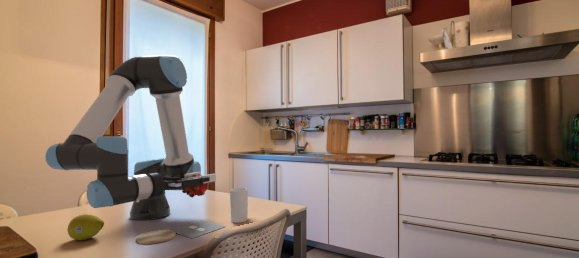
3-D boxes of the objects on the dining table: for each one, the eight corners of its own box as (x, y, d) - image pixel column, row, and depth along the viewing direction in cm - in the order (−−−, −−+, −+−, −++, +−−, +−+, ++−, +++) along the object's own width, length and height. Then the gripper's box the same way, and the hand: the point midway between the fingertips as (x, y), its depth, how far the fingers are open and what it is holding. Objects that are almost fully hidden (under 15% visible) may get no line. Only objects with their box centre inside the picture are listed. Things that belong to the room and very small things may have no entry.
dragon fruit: (181, 204, 101) (203, 201, 112) (199, 190, 99) (220, 189, 110) (171, 183, 103) (193, 182, 115) (189, 169, 102) (209, 169, 113)
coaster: (128, 239, 97) (128, 237, 97) (162, 229, 107) (162, 227, 107) (147, 247, 90) (147, 245, 90) (182, 235, 100) (182, 233, 100)
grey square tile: (167, 230, 105) (167, 230, 105) (200, 220, 117) (200, 220, 117) (192, 238, 97) (192, 238, 97) (225, 226, 108) (225, 226, 108)
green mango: (59, 243, 95) (59, 218, 95) (79, 234, 103) (79, 211, 103) (91, 244, 94) (91, 218, 94) (109, 235, 101) (108, 211, 101)
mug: (242, 223, 112) (242, 191, 112) (227, 222, 114) (226, 190, 114) (254, 216, 121) (254, 186, 121) (239, 215, 123) (239, 185, 124)
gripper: (130, 194, 99) (190, 184, 117) (165, 202, 86) (226, 189, 105) (130, 171, 99) (189, 164, 117) (165, 176, 86) (226, 168, 105)
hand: (207, 176), depth 111 cm, fingers closed on dragon fruit, 8 cm apart
